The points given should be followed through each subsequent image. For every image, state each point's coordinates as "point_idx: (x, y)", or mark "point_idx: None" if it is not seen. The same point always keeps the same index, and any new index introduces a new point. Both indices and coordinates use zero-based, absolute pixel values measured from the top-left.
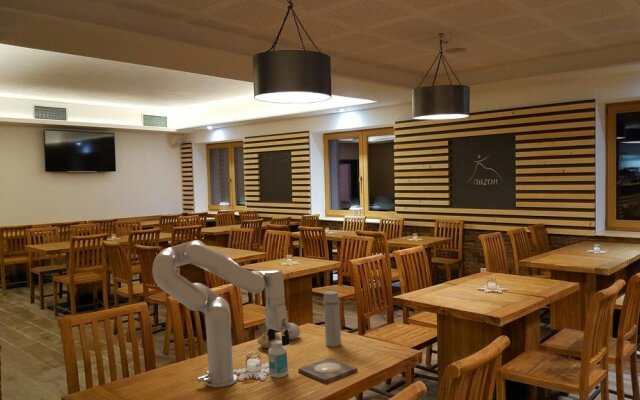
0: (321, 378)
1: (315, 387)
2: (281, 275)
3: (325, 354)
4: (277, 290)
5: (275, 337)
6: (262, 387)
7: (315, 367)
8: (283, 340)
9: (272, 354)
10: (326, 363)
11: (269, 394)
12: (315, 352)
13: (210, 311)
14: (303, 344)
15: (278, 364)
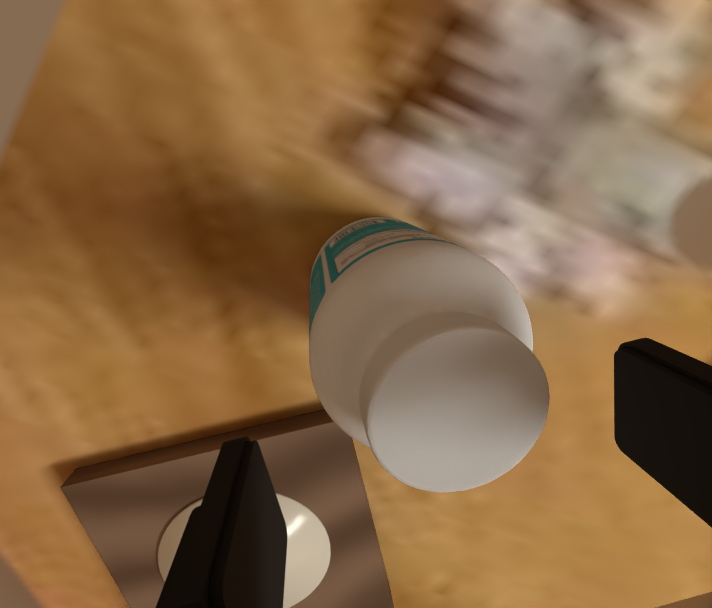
0: (101, 476)
1: (40, 401)
2: None
3: (494, 600)
4: None
5: None
6: (210, 75)
7: (291, 506)
8: (207, 525)
9: (357, 264)
10: (316, 573)
11: (38, 65)
12: (556, 571)
13: None
14: (704, 560)
15: (314, 286)
